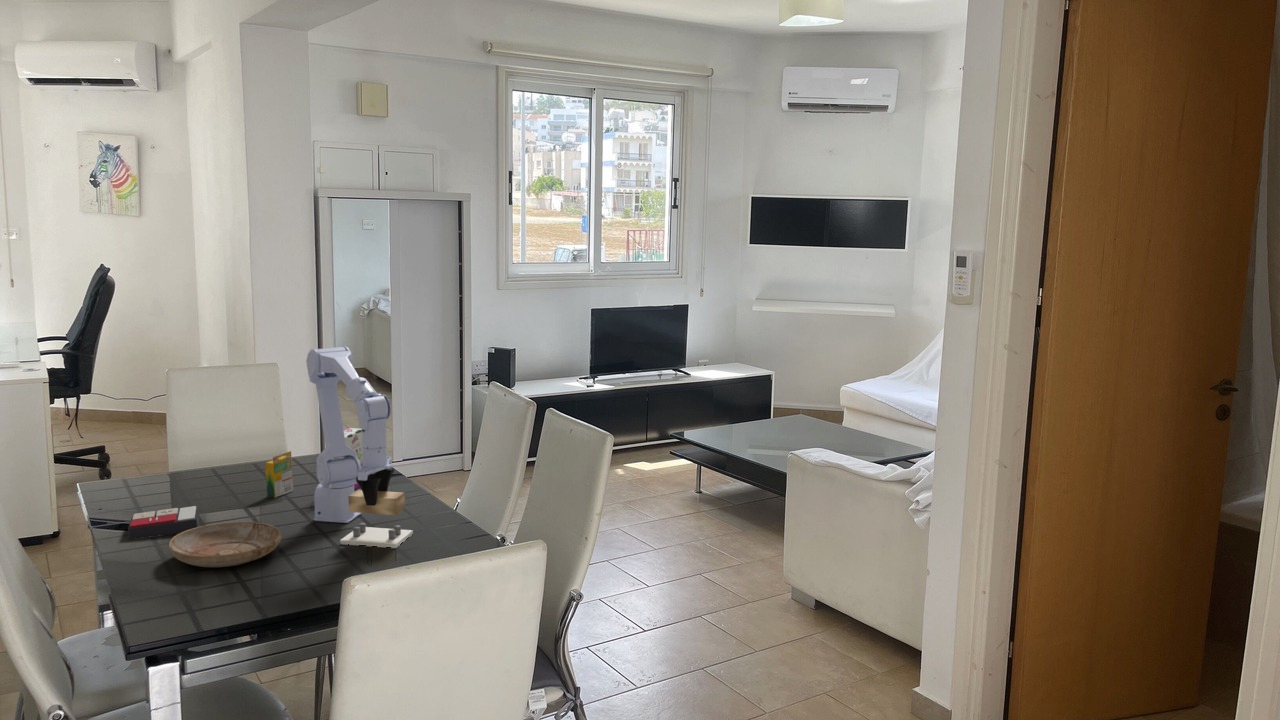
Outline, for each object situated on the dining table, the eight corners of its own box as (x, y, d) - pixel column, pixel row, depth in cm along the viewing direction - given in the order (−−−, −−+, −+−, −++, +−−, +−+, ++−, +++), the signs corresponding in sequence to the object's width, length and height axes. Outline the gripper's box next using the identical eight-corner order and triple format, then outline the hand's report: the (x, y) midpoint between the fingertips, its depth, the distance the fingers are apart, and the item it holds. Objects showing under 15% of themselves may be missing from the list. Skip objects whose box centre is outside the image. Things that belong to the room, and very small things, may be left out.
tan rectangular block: (348, 512, 225) (348, 495, 224) (358, 505, 230) (357, 489, 229) (396, 515, 223) (396, 498, 222) (405, 508, 228) (404, 492, 227)
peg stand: (340, 544, 224) (339, 532, 223) (359, 530, 234) (359, 518, 233) (396, 548, 222) (395, 536, 221) (412, 534, 231) (412, 522, 231)
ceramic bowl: (212, 585, 199) (211, 563, 198) (148, 562, 211) (146, 541, 210) (303, 553, 218) (302, 532, 217) (239, 533, 230) (238, 514, 230)
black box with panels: (131, 512, 234) (198, 503, 240) (134, 529, 235) (199, 519, 241) (126, 526, 224) (196, 516, 230) (129, 543, 225) (198, 533, 231)
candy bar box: (350, 482, 275) (348, 427, 272) (366, 483, 274) (364, 428, 271) (330, 493, 264) (328, 436, 261) (347, 494, 263) (345, 437, 260)
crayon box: (285, 489, 266) (283, 449, 265) (293, 491, 265) (292, 451, 264) (266, 496, 260) (264, 455, 258) (275, 498, 259) (273, 457, 257)
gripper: (377, 454, 216) (378, 511, 218) (402, 440, 231) (404, 493, 233) (348, 453, 217) (350, 509, 220) (375, 438, 232) (377, 492, 234)
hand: (376, 501), depth 226 cm, fingers closed on tan rectangular block, 5 cm apart
